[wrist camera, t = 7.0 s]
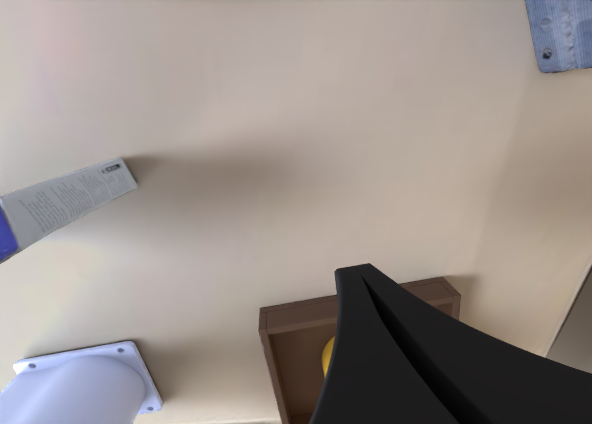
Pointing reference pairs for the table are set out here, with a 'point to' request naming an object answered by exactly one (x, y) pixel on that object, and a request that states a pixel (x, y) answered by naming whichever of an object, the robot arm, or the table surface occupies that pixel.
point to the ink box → (59, 203)
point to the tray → (319, 343)
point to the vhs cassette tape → (561, 33)
